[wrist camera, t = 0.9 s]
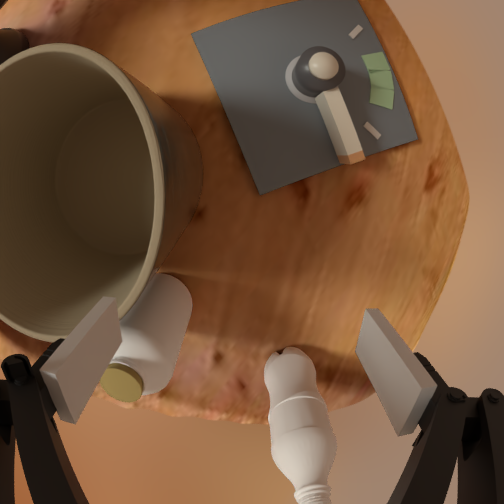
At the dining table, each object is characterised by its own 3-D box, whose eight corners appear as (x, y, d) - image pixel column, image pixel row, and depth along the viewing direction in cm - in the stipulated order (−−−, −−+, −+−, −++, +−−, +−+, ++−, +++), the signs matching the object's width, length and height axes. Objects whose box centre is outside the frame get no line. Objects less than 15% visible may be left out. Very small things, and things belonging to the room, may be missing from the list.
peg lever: (284, 65, 31) (291, 50, 25) (323, 54, 30) (336, 39, 25) (327, 167, 34) (341, 169, 29) (364, 154, 34) (383, 155, 29)
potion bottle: (182, 264, 39) (141, 341, 22) (201, 319, 41) (179, 415, 24) (126, 278, 39) (63, 352, 22) (148, 330, 42) (105, 418, 25)
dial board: (192, 37, 30) (190, 33, 29) (349, -5, 28) (352, -9, 27) (259, 194, 37) (260, 195, 35) (413, 139, 35) (418, 139, 33)
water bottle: (260, 344, 43) (274, 501, 19) (310, 338, 43) (359, 487, 19) (265, 381, 45) (278, 526, 21) (311, 375, 45) (348, 515, 21)
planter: (96, 284, 40) (16, 366, 20) (33, 148, 33) (-74, 157, 14) (237, 218, 37) (229, 283, 18) (164, 61, 31) (96, -14, 12)
